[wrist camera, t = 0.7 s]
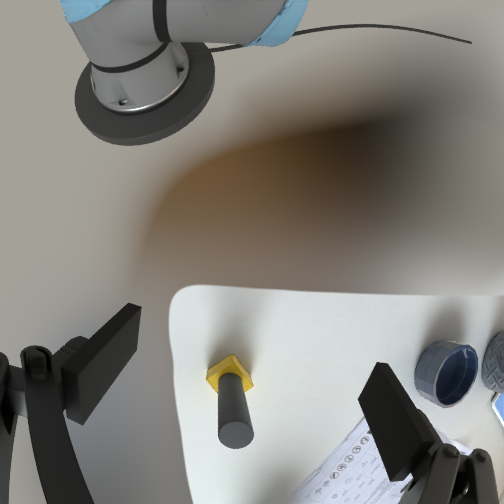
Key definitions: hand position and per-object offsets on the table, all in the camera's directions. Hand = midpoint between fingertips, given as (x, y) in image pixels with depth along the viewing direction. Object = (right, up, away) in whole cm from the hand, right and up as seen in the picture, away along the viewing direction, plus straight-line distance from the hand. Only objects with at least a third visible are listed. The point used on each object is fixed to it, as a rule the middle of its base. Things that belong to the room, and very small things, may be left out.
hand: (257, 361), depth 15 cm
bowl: (+29, -13, +25) cm, 41 cm away
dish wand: (-3, -10, +21) cm, 24 cm away
